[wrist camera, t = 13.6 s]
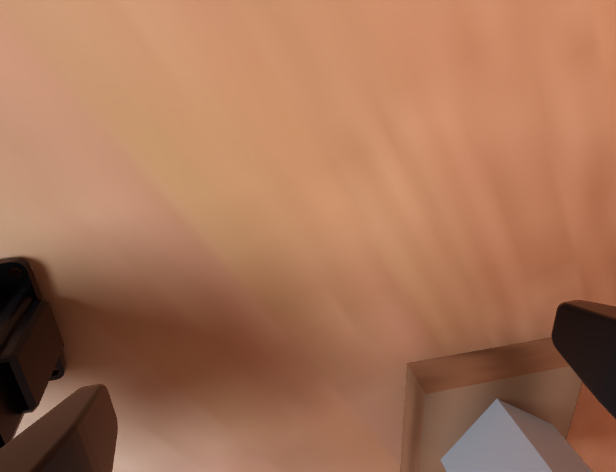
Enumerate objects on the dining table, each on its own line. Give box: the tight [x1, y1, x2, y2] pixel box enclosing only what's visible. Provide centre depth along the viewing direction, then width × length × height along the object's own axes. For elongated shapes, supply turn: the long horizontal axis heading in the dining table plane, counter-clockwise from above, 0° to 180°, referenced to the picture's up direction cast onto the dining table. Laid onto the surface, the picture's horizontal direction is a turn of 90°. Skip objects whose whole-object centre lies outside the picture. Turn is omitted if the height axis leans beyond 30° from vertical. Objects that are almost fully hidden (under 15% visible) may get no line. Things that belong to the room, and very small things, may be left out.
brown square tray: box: [400, 338, 582, 472], centre depth 29 cm, size 10×10×3 cm
